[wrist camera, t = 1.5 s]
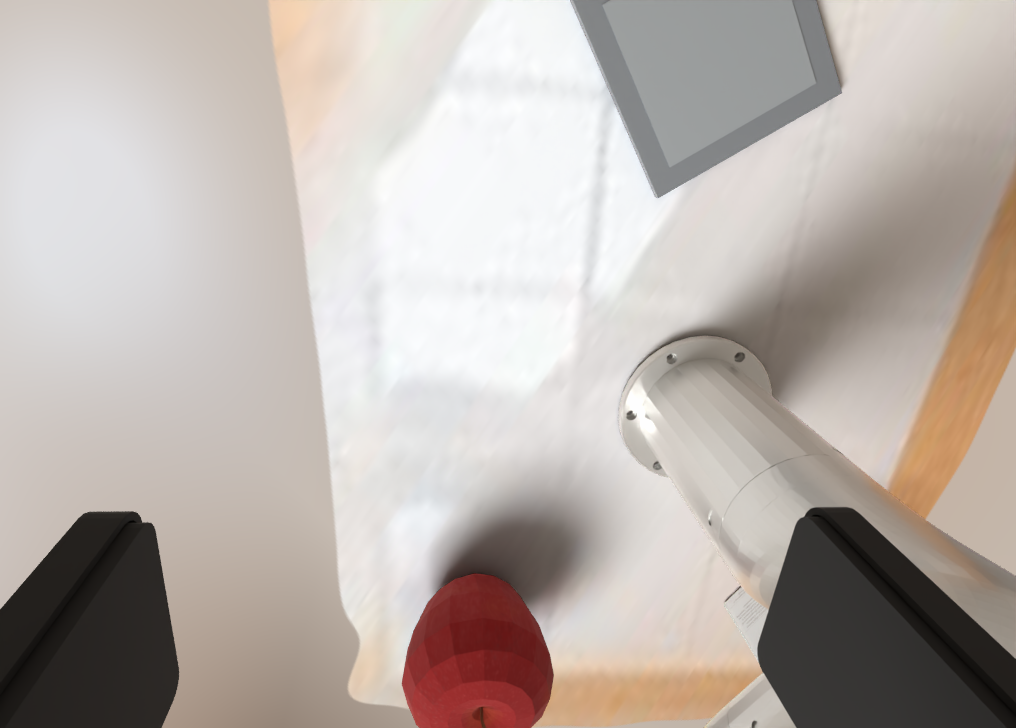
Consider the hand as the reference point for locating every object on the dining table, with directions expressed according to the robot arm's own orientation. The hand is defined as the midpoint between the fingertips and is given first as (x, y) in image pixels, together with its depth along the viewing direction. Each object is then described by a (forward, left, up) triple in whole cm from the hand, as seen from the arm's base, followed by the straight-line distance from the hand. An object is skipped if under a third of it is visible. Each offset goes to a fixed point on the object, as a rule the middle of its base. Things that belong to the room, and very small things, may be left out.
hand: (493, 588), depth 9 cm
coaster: (+1, -21, -36) cm, 41 cm away
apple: (-30, +15, -36) cm, 49 cm away
